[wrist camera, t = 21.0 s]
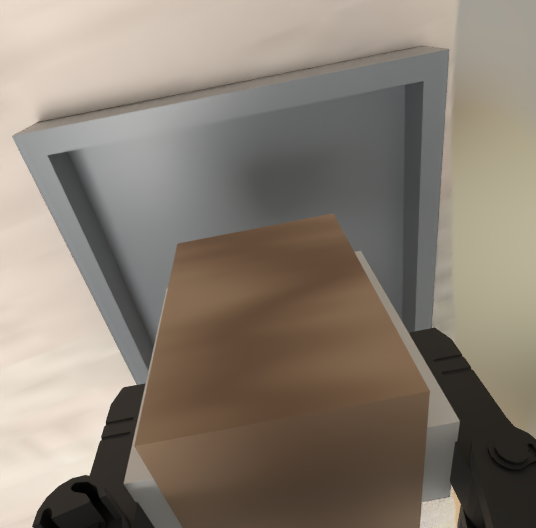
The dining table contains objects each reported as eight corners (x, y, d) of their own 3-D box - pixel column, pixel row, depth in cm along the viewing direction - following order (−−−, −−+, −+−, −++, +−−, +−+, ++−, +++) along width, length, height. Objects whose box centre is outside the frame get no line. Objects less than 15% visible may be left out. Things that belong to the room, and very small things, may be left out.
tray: (411, 394, 31) (425, 423, 29) (182, 437, 31) (179, 469, 29) (422, 46, 18) (449, 49, 16) (37, 122, 18) (12, 135, 16)
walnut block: (333, 213, 12) (429, 391, 7) (343, 331, 15) (419, 532, 9) (177, 243, 13) (133, 446, 7) (215, 355, 15) (208, 571, 9)
